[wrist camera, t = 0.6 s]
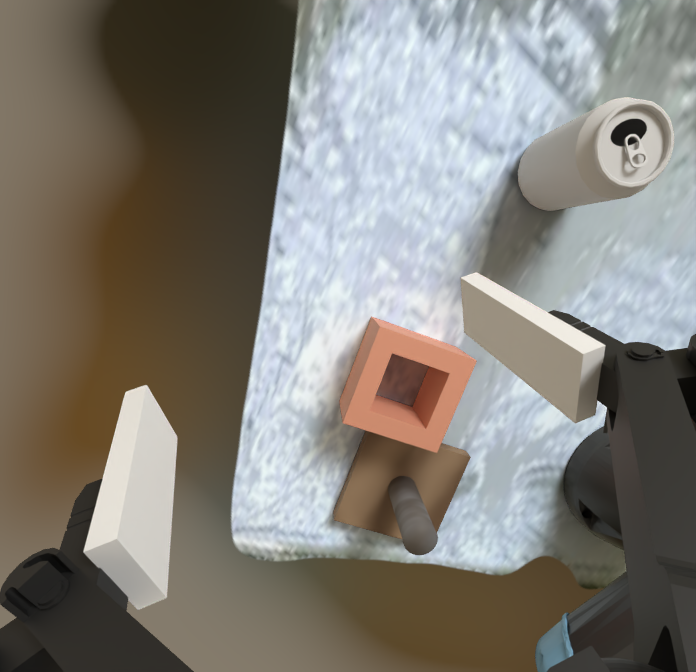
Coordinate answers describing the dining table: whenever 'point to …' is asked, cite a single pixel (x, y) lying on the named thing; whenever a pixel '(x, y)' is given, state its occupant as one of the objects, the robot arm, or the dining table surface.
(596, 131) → the can
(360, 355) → the collar
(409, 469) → the post stand
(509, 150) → the dining table surface
